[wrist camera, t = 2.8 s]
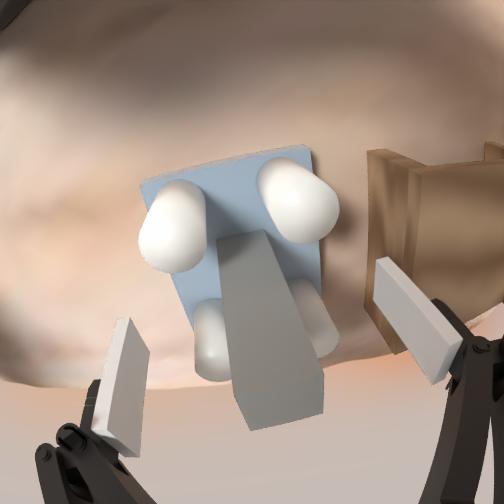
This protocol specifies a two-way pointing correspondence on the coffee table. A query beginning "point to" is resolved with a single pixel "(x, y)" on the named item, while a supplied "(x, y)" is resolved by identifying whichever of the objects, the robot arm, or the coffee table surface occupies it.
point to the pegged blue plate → (249, 274)
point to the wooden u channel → (438, 231)
